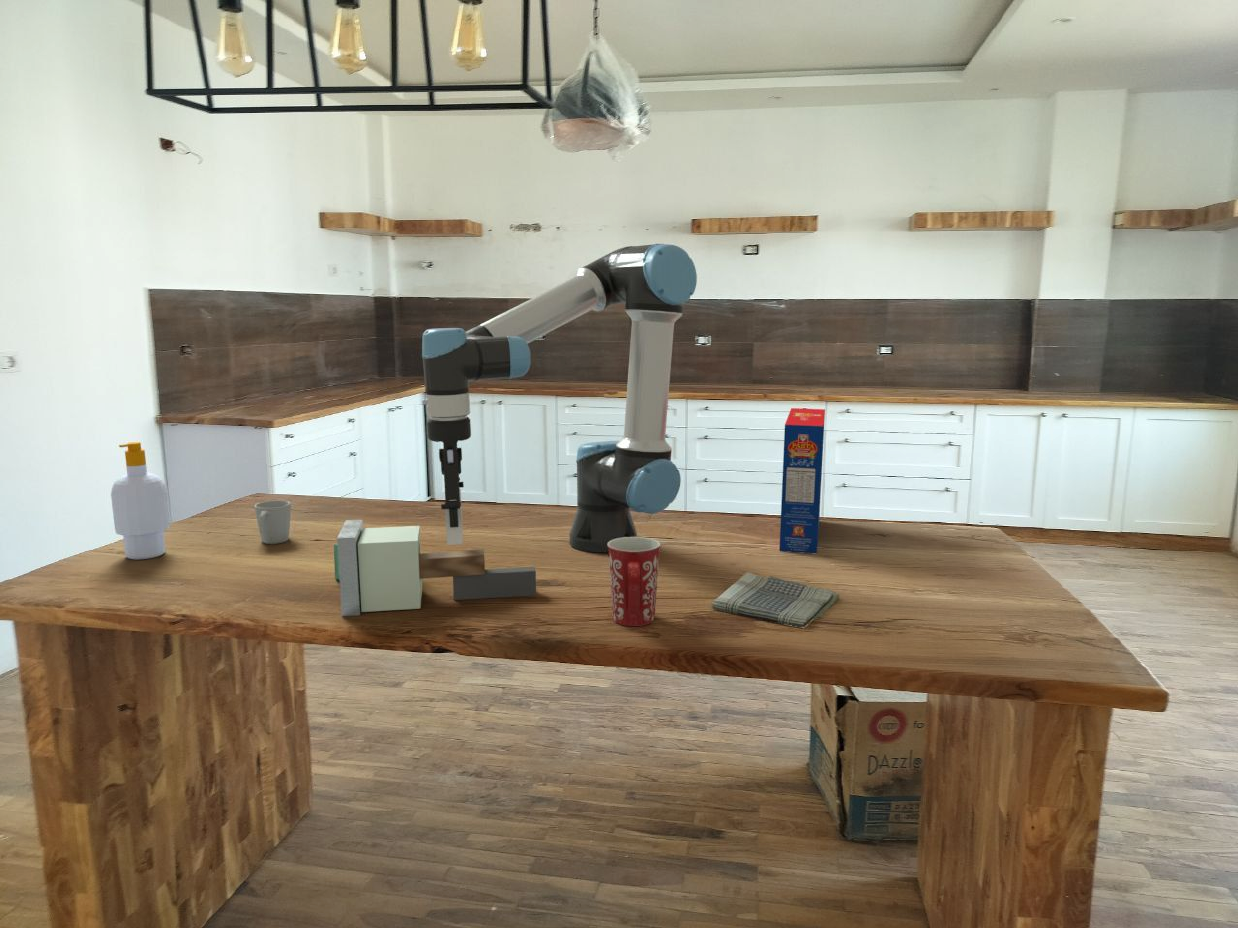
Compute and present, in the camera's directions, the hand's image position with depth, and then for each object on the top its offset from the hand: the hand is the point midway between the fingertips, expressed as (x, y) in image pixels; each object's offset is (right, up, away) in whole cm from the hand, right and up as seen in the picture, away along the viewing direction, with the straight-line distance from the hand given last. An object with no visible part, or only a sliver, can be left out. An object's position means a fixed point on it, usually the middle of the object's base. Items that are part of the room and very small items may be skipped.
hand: (455, 533), depth 155 cm
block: (-11, -12, 0) cm, 17 cm away
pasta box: (+72, -4, +44) cm, 85 cm away
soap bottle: (-71, -7, +27) cm, 76 cm away
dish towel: (+58, -13, 0) cm, 60 cm away
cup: (-48, -5, +37) cm, 60 cm away
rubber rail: (+7, -12, +3) cm, 14 cm away
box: (-18, -10, +13) cm, 24 cm away
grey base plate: (-18, -13, -1) cm, 22 cm away
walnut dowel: (-3, -8, +1) cm, 8 cm away
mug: (+32, -15, -9) cm, 36 cm away
